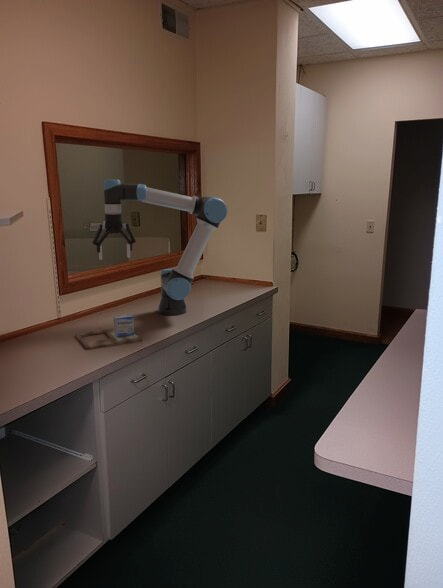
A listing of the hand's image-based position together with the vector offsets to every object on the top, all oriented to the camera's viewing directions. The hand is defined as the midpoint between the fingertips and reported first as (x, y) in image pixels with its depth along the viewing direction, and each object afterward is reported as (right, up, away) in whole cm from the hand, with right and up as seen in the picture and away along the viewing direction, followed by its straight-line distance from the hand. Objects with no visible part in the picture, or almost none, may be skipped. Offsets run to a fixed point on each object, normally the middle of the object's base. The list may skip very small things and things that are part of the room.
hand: (115, 258), depth 223 cm
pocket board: (+1, -37, -16) cm, 40 cm away
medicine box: (+8, -35, -15) cm, 39 cm away
